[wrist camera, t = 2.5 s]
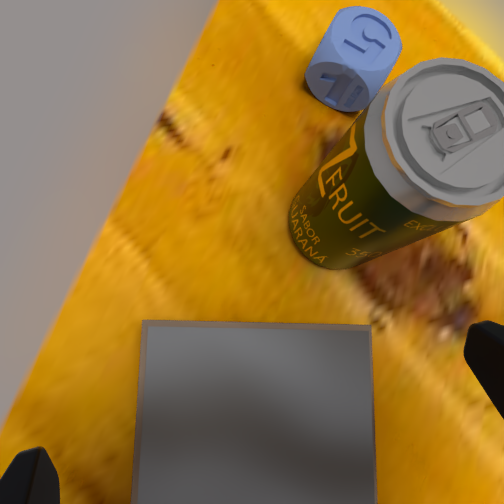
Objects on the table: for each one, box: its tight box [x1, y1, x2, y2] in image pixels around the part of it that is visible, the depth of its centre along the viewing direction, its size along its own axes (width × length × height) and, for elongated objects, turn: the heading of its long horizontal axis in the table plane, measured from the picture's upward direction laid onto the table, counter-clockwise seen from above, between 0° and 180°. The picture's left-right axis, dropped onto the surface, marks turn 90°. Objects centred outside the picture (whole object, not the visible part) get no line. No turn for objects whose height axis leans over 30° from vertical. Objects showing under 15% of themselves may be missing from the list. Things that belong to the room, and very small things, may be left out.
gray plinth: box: [131, 320, 377, 504], centre depth 21 cm, size 11×11×3 cm
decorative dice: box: [305, 6, 402, 112], centre depth 25 cm, size 4×4×4 cm
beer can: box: [289, 58, 504, 269], centre depth 20 cm, size 5×5×12 cm
